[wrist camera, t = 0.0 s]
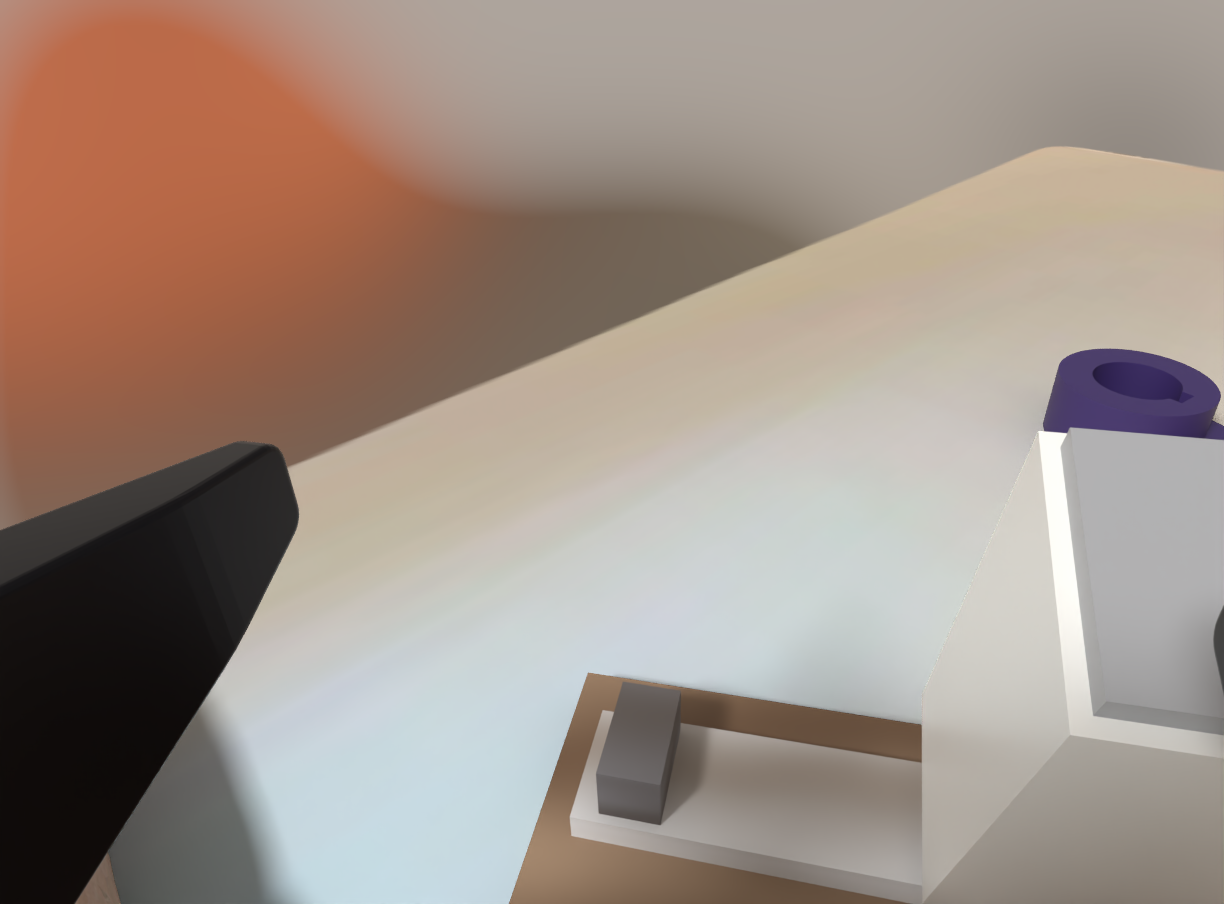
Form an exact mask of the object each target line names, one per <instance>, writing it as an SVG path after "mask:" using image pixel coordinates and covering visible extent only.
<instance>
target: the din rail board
mask: <svg viewBox="0 0 1224 904" xmlns="http://www.w3.org/2000/svg"><path fill="white" fill-rule="evenodd" d="M509 904H922V725H919V724H912V723H906V722H900V721H893V720H887V719H881V718H874V717H868V716H861V715H855V714H849V713H842V712H836V711H830V710H823V709H817V708H810V707H804V706H798V705H791V704H785V703H778V702H772V701H766V700H759V699H753V698H747V697H740V696H734V695H727V694H721V693H715V692H708V691H702V690H696V689H689V688H683V687H676V686H670V685H664V684H657V683H651V682H644V681H638V680H632V679H625V678H619V677H613V676H606V675H600V674H593V673H588V675H587V677H586V680H585V683H584V686H583V689H582V692H581V695H580V698H579V701H578V704H577V707H576V710H575V712H574V715H573V718H572V721H571V724H570V727H569V730H568V733H567V736H566V739H565V742H564V745H563V748H562V750H561V753H560V756H559V759H558V762H557V765H556V768H555V771H554V774H553V777H552V780H551V783H550V785H549V788H548V791H547V794H546V797H545V800H544V803H543V806H542V809H541V812H540V815H539V818H538V820H537V823H536V826H535V829H534V832H533V835H532V838H531V841H530V844H529V847H528V850H527V853H526V856H525V858H524V861H523V864H522V867H521V870H520V873H519V876H518V879H517V882H516V885H515V888H514V891H513V893H512V896H511V899H510V902H509Z"/></svg>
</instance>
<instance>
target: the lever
mask: <svg viewBox="0 0 1224 904" xmlns="http://www.w3.org/2000/svg"><path fill="white" fill-rule="evenodd" d="M1220 398H1221V394H1220V391H1219V389H1218V387H1217V386H1216V384H1215V383H1214V382H1213V381H1212V380H1211V379H1210V378H1208V377H1207V376H1205V375H1204V374H1202V373H1201V372H1199V371H1197V370H1196V369H1194V368H1192V367H1190V366H1187V365H1185V364H1183V363H1180V362H1178V361H1175V360H1172V359H1169V358H1165V357H1162V356H1158V355H1154V354H1150V353H1145V352H1139V351H1132V350H1124V349H1092V350H1085V351H1080V352H1077V353H1074V354H1071V355H1069V356H1067V357H1066V358H1064V359H1063V360H1062V361H1061V363H1060V364H1059V367H1058V371H1057V375H1056V378H1055V382H1054V385H1053V389H1052V393H1051V396H1050V400H1049V403H1048V407H1047V411H1046V414H1045V418H1044V422H1043V427H1044V431H1046V432H1057V433H1067V432H1068V430H1069V428H1070V427H1071V428H1083V429H1095V430H1107V431H1119V432H1131V433H1143V434H1155V435H1167V436H1179V437H1191V438H1203V439H1215V440H1224V426H1223V425H1221V424H1219V423H1216V422H1214V421H1212V419H1213V416H1214V414H1215V411H1216V409H1217V406H1218V404H1219V401H1220Z"/></svg>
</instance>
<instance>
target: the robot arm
mask: <svg viewBox="0 0 1224 904" xmlns="http://www.w3.org/2000/svg"><path fill="white" fill-rule="evenodd" d="M298 520H299V508H298V504H297V500H296V497H295V493H294V490H293V486H292V483H291V480H290V476H289V473H288V469H287V466H286V462H285V459H284V456H283V454H282V452H281V451H280V450H279V449H278V448H277V447H276V446H274V445H272V444H265V443H256V442H247V441H240V442H234V443H231V444H228V445H226V446H223V447H220V448H218V449H215V450H213V451H210V452H207V453H205V454H202V455H199V456H196V457H194V458H191V459H188V460H186V461H183V462H180V463H178V464H175V465H172V466H170V467H167V468H165V469H162V470H159V471H156V472H154V473H151V474H149V475H146V476H143V477H140V478H138V479H135V480H133V481H130V482H127V483H124V484H122V485H119V486H116V487H114V488H111V489H109V490H106V491H103V492H100V493H98V494H95V495H93V496H90V497H87V498H85V499H82V500H79V501H77V502H74V503H71V504H69V505H66V506H63V507H61V508H58V509H55V510H53V511H50V512H47V513H45V514H42V515H39V516H37V517H34V518H31V519H29V520H26V521H24V522H21V523H18V524H15V525H13V526H10V527H7V528H5V529H2V530H0V904H75V903H76V902H77V900H78V899H79V897H80V896H81V894H82V892H83V891H84V889H85V888H86V886H87V885H88V883H89V881H90V880H91V878H92V877H93V875H94V874H95V872H96V870H97V869H98V867H99V866H100V864H101V863H102V861H103V859H104V858H105V856H106V855H107V853H108V852H109V850H110V848H111V847H112V845H113V844H114V842H115V840H116V839H117V837H118V836H119V834H120V833H121V831H122V829H123V828H124V826H125V825H126V823H127V822H128V820H129V818H130V817H131V815H132V814H133V812H134V811H135V809H136V807H137V806H138V804H139V803H140V801H141V800H142V798H143V796H144V795H145V793H146V792H147V790H148V788H149V787H150V785H151V784H152V782H153V781H154V779H155V777H156V776H157V774H158V773H159V771H160V770H161V768H162V766H163V765H164V763H165V762H166V760H167V759H168V757H169V755H170V754H171V752H172V751H173V749H174V748H175V746H176V744H177V743H178V741H179V740H180V738H181V737H182V735H183V733H184V732H185V730H186V729H187V727H188V725H189V724H190V722H191V721H192V719H193V718H194V716H195V714H196V713H197V711H198V710H199V708H200V707H201V705H202V703H203V702H204V700H205V699H206V697H207V696H208V694H209V692H210V691H211V689H212V688H213V686H214V685H215V683H216V681H217V680H218V678H219V677H220V675H221V673H222V672H223V670H224V669H225V667H226V665H227V664H228V662H229V660H230V659H231V657H232V655H233V654H234V652H235V650H236V649H237V647H238V645H239V643H240V641H241V639H242V637H243V635H244V634H245V632H246V630H247V628H248V626H249V624H250V622H251V620H252V618H253V616H254V614H255V612H256V610H257V608H258V606H259V604H260V602H261V600H262V598H263V596H264V594H265V592H266V590H267V588H268V586H269V584H270V582H271V580H272V578H273V576H274V574H275V572H276V570H277V568H278V566H279V564H280V562H281V560H282V558H283V556H284V554H285V552H286V550H287V548H288V546H289V544H290V542H291V540H292V538H293V536H294V534H295V531H296V529H297V525H298ZM1213 647H1214V653H1215V657H1216V662H1217V667H1218V671H1219V676H1220V680H1221V685H1222V690H1223V694H1224V605H1223V607H1222V610H1221V612H1220V614H1219V616H1218V618H1217V621H1216V624H1215V628H1214V635H1213Z"/></svg>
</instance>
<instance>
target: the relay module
mask: <svg viewBox="0 0 1224 904" xmlns="http://www.w3.org/2000/svg"><path fill="white" fill-rule="evenodd" d="M1223 605H1224V440H1215V439H1203V438H1191V437H1179V436H1167V435H1155V434H1143V433H1131V432H1119V431H1107V430H1095V429H1083V428H1071V427H1070V428H1069V430H1068V432H1067V433H1057V432H1046V431H1038V433H1037V435H1036V437H1035V440H1034V442H1033V444H1032V446H1031V449H1030V451H1029V453H1028V455H1027V458H1026V460H1025V462H1024V464H1023V467H1022V469H1021V471H1020V473H1019V476H1018V478H1017V480H1016V483H1015V485H1014V487H1013V489H1012V492H1011V494H1010V496H1009V498H1008V501H1007V503H1006V505H1005V507H1004V510H1003V512H1002V514H1001V516H1000V519H999V521H998V523H997V525H996V528H995V530H994V532H993V535H992V537H991V539H990V541H989V544H988V546H987V548H986V550H985V553H984V555H983V557H982V559H981V562H980V564H979V566H978V568H977V571H976V573H975V575H974V577H973V580H972V582H971V584H970V587H969V589H968V591H967V593H966V596H965V598H964V600H963V602H962V605H961V607H960V609H959V611H958V614H957V616H956V618H955V620H954V623H953V625H952V627H951V629H950V632H949V634H948V636H947V639H946V641H945V643H944V645H943V648H942V650H941V652H940V654H939V657H938V659H937V661H936V663H935V666H934V668H933V670H932V672H931V675H930V677H929V679H928V681H927V684H926V686H925V688H924V691H923V693H922V904H1224V694H1223V690H1222V685H1221V680H1220V676H1219V671H1218V667H1217V662H1216V657H1215V653H1214V647H1213V635H1214V628H1215V624H1216V621H1217V618H1218V616H1219V614H1220V612H1221V610H1222V607H1223Z"/></svg>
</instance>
